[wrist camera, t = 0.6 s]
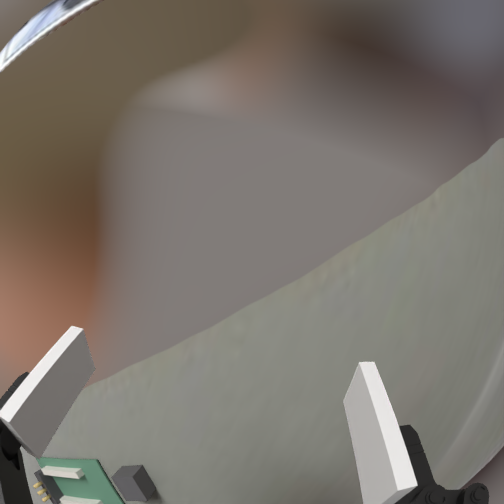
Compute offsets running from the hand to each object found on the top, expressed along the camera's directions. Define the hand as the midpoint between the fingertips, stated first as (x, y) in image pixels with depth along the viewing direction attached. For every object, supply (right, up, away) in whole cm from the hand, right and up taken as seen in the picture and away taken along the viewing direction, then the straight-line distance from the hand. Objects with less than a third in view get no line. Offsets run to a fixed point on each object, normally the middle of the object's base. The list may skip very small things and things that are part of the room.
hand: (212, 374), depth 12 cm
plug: (-20, -38, +27) cm, 51 cm away
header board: (-37, -47, +26) cm, 65 cm away
